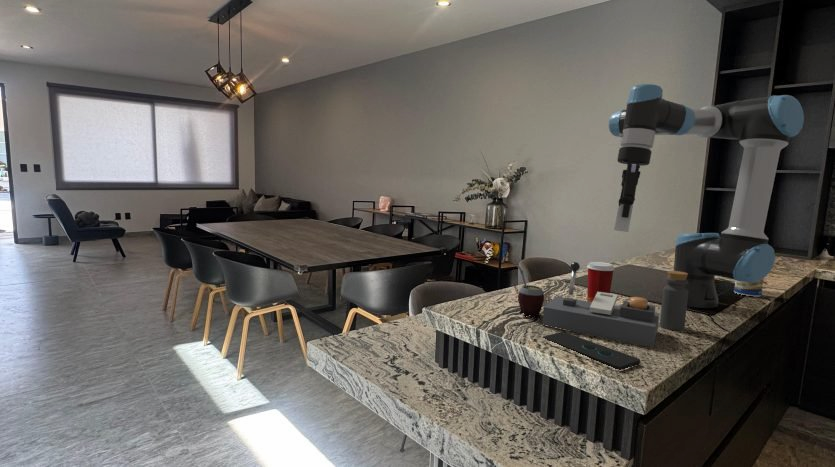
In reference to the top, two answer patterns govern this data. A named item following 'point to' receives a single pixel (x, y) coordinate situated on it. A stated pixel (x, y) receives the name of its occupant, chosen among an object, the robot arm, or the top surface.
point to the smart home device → (594, 350)
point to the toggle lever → (573, 276)
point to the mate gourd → (530, 298)
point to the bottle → (674, 301)
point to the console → (604, 321)
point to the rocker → (603, 303)
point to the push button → (638, 303)
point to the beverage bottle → (749, 288)
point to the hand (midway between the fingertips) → (620, 231)
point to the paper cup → (599, 279)
